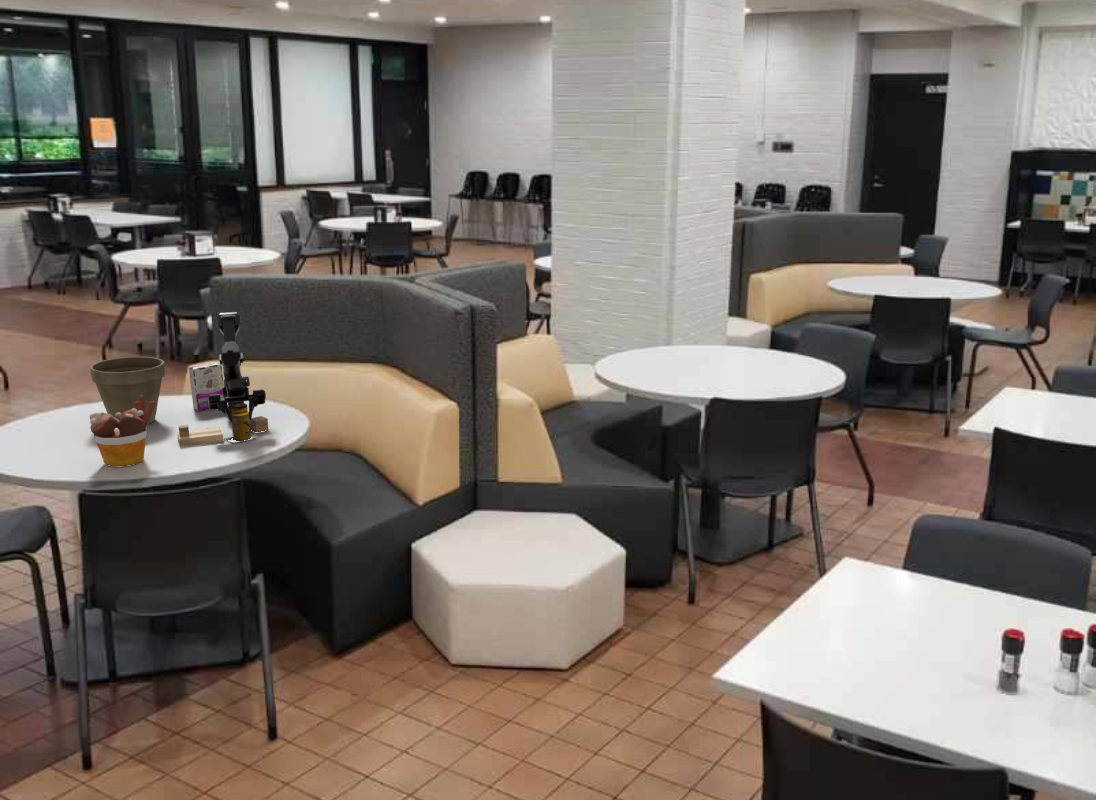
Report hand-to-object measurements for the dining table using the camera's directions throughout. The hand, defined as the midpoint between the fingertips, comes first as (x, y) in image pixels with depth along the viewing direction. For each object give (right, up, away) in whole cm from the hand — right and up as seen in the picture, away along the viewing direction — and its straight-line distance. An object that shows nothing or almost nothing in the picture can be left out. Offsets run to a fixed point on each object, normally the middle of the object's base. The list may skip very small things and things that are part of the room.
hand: (240, 420), depth 364 cm
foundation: (-14, -7, +2) cm, 16 cm away
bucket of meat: (-31, -13, -20) cm, 39 cm away
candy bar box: (-24, +4, +43) cm, 50 cm away
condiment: (-1, -7, +2) cm, 7 cm away
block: (+3, -4, +12) cm, 13 cm away
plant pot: (-46, -1, +26) cm, 52 cm away
